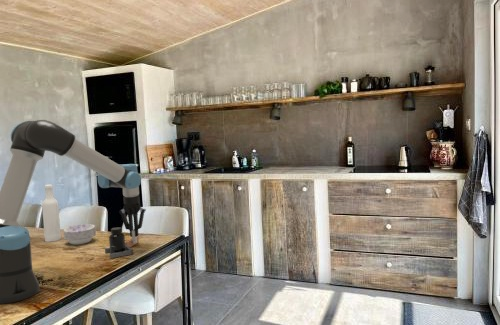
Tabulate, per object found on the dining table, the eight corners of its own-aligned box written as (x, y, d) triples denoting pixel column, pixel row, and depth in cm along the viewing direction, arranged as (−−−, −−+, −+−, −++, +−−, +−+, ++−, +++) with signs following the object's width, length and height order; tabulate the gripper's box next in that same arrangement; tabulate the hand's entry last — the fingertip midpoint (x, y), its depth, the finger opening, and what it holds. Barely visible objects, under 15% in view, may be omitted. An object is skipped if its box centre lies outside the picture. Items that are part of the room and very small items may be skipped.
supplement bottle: (109, 257, 175) (107, 230, 174) (110, 252, 182) (108, 227, 181) (125, 255, 177) (123, 229, 176) (125, 250, 184) (124, 226, 183)
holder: (149, 250, 182) (149, 244, 182) (110, 258, 173) (110, 251, 172) (138, 241, 198) (137, 236, 198) (101, 248, 188) (101, 242, 188)
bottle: (54, 242, 204) (49, 185, 202) (41, 242, 206) (36, 186, 204) (64, 238, 212) (60, 183, 210) (51, 237, 214) (47, 183, 211)
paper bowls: (69, 248, 192) (67, 232, 191) (61, 242, 204) (59, 227, 203) (100, 242, 201) (99, 227, 201) (91, 236, 213) (89, 222, 213)
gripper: (146, 193, 193) (150, 240, 195) (121, 194, 193) (124, 241, 195) (141, 196, 185) (145, 244, 187) (115, 197, 186) (119, 245, 188)
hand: (134, 242), depth 191 cm, fingers closed
